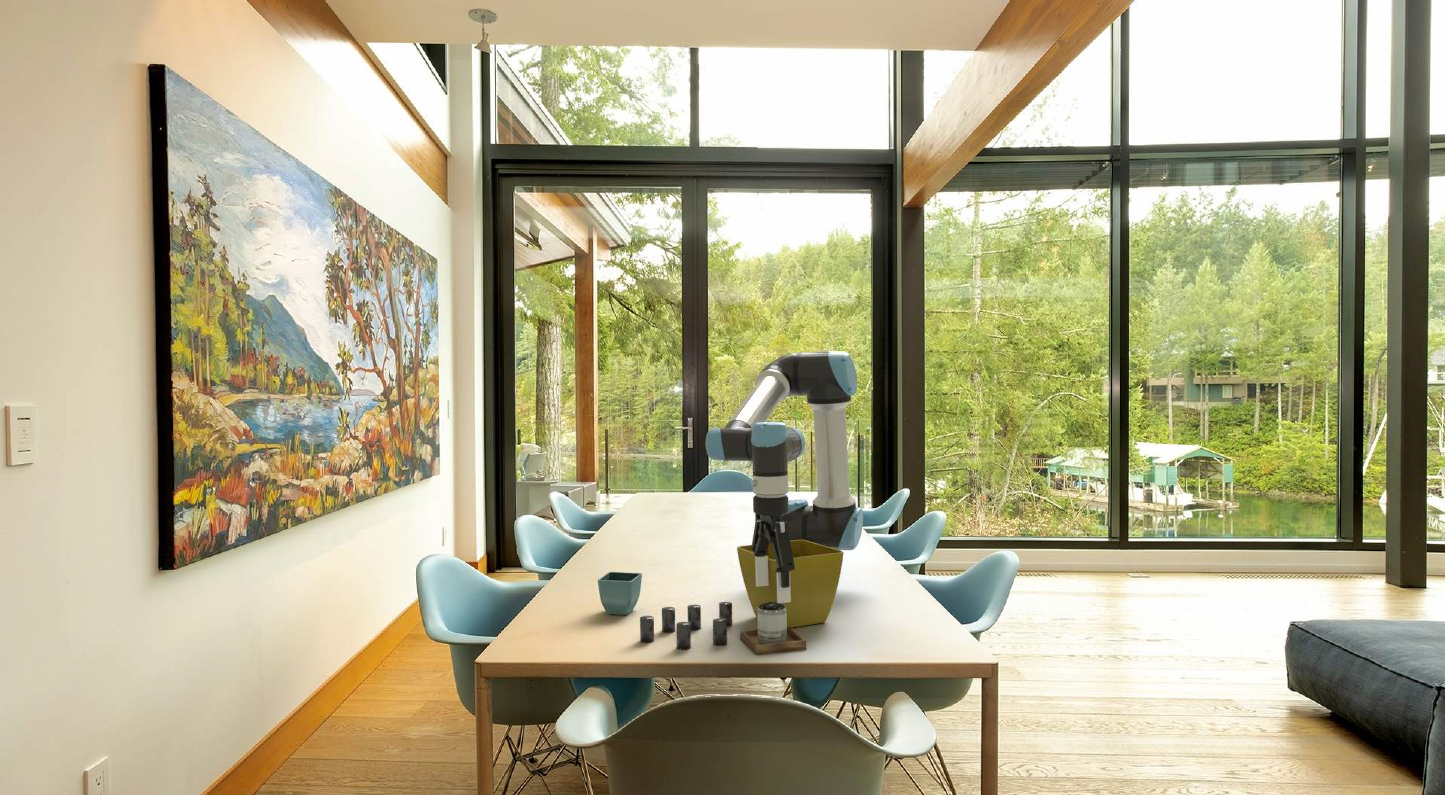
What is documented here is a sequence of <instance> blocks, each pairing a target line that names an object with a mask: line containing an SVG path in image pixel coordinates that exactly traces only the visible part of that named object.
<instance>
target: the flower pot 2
mask: <svg viewBox="0 0 1445 795" xmlns="http://www.w3.org/2000/svg"><path fill="white" fill-rule="evenodd" d="M790 544H791V549H792V555H793V560H794V566H795V569H794V570H791V571H790V588H791V602H787V603H780V604H783V605H784V606H785V607H786V609H787V626H788V627H789V628H791V629H792V628H797V627H804V626H809V625H816V624H822V623H825V622H827V621H828V619H829V615H830V613H831V609H832V606H833V604H834V601H835V597H836V594H837V590H838V586H839V582H840V578H841V573H842V567H843V566H842V565H843V560H844V553H845V552H844V550H841V551H840V550H837V549H833V548H830V547H827V546H824V545H820V544H817V543H814V542H810V541H806V540H793V541H790ZM751 547H752V544H747V545H739V546H737V547H736V551H737V552H736V553H737V558H738V563H739V566H740V572H741V576H742V579H743V583H744V587H745V591H746V593H747V597H748V600H749V602H750V605H751V608H752V611H753V613H754V616H755V617H756V618H757V608H758V606H760V605H761V604H764V603H768V602H777V572H775V571H776V569H777V568H778V566H777V562H776V559H775V555H774V551H773V547H772V544H771V543H769V546H768V549H767V550H768V554H769V555H764V556H768V586H760V587H757V586H756V569H755V557H756V556H755V555H754V551H752V550H751ZM785 565H786V564H785Z"/></svg>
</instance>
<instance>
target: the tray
mask: <svg viewBox="0 0 1445 795" xmlns="http://www.w3.org/2000/svg"><path fill="white" fill-rule="evenodd" d="M739 639H740V640H741V642H742V643H744V645H746V647H748V649H750V651H752V652H753V654H755V655H756V656H760V655H767V654H768V655H769V654H776V653H786V652H794V651H804V650H805V651H806V650H807V640H806V639H805V638H803V636H801V635H800V634H798V632H796V631H795V630H794V629H792V627H791V628H789V627H788V626H787V636H786V642H781V643H772V644H762V643H760V642H759V638H758V628H756V629H755V628H754V629H747V630H746V629H744V630H740V631H739Z"/></svg>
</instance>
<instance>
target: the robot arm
mask: <svg viewBox="0 0 1445 795" xmlns="http://www.w3.org/2000/svg"><path fill="white" fill-rule="evenodd" d="M857 390H858V376H857V370H856V366H855V362H854V360H853V358H852V357H851V355H850V354H849V353H848V352H847V351H842V350H841V351H837V350H829V351H828V350H825V351H809V352H808V351H805V352H804V351H803V352H791V353H787V354H784V355H782V356H780V357H778V358H775V359H774V360H773V361H772V362H770V363H769V364H767V365H766V366H765V367H764V368H763V369H762V370H761V371H760V372H759V373H758V375H757V376H756V378H755V381H754V386H753V388H752V389H751V390H750V392H749V394H748V395H747V396H746V397H745V399H744V400H743V402H742V403H741V404H740V406H739V407H738V409H737V410H736V412H735V413H734V414H733V416H732V417H731V418H730V419H729V421H728V422H727V424H726V425H725V426H724V427H721V426H720V427H713V428H711V429H709V430H708V432H707V433H706V437H705V450H706V454H707V456H708V458H709V459H711V460H714V461H722V462H727V461H730V462H751V463H752V466H751V467H752V480H751V481H750V484H751V485H752V492H753V494H754V496H753V497H752V506H753V507H752V508H753V510H752V511H753V513H754V515H755V520H754V521H755V522H754V529H753V534H752V541H751V542H752V543H751V545H752V547H751V550H752V551H754V555H755V556H756V557H755V569H756V586H757V587H760V586H768V556H764V555H769V554H768V550H767V549H768V546H769V543H771V544H772V547H773V551H774V555H775V559H776V562H777V566H778V568H777V569H776V571H775V572H777V603H787V602H791V588H790V571H791V570H794V569H795V566H794V560H793V555H792V549H791V544H790V541H793V540H806V541H810V542H814V543H817V544H820V545H824V546H827V547H830V548H833V549H837V550H840V551H853V550H855V549H856V548H857V547H858V545H859V543H860V540H861V536H862V533H863V524H864V513H863V512H864V511H863V508H861V507H859V506H857V501H856V498H854V497H853V496H852V495H851V493H850V474H849V452H848V451H849V450H848V433H847V431H848V430H847V414H846V413H847V412H846V411H847V410H846V409H847V408H846V407H847V406H848V405H849V404H850V403H851V402H852V397H851V396H854V395H856V394H857ZM791 396H802V397H803V396H806V402H807V405H808V406H810V408H811V409H812V410H813V413H812V414H813V429H814V430H813V431H814V446H815V448H814V449H815V466H816V485H817V486H816V487H817V489H816V490H817V496H816V497H815V498H814V499H813V500H812V505H809V501H808V499H800V498H799V499H789V496H788V495H787V494H788V493H789V474H788V473H789V471H788V470H789V468H788V463H789V462H793V461H795V460H797V459H798V458H799V457H800V456H801V455H803V453H804V451H805V449H806V439H805V436H804V434H803V432H802V431H800V430H798V428H794V427H791V426H788V427H787V425H786V423H785V422H781V421H768V420H769V419H770V417H771V415H772V414H773V412H774V411H775V409H776V408H777V406H778V404H780V403H781V402H783V401H785V400H786V399H787V398H788V397H791ZM785 564H786V565H785Z"/></svg>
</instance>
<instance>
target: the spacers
mask: <svg viewBox="0 0 1445 795" xmlns="http://www.w3.org/2000/svg"><path fill="white" fill-rule="evenodd" d="M701 611H702V608H701V605H700V604H689V605H687V621H678V622H677V623H676V607H674V606H665V607H661V632H662V633H667V634H671V633H675V632H676V649H678V650H684V651H685V650H686V651H687V650H689V649H691V648H692V644H691V643H692V637H691V636H692V634H691V632H692V631H699V630H701V629H702V620H701V619H702V616H701V614H702V612H701ZM732 626H733V602H731V601H722V602H718V617H717V618H713V619H712V644H713V646H718V647H719V646H720V647H721V646H726V645H727V644H728V627H732ZM639 639H640V640H639V641H640V642H641V643H643V644H644V643H645V644H648V643H652V642H653V643H654V642H655V618H654V616H653V615H643V616H640V617H639Z"/></svg>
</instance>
